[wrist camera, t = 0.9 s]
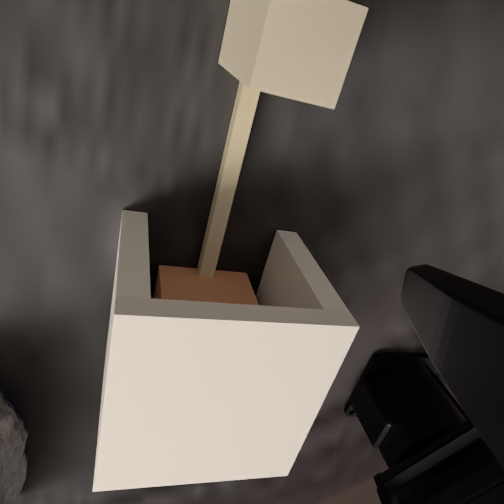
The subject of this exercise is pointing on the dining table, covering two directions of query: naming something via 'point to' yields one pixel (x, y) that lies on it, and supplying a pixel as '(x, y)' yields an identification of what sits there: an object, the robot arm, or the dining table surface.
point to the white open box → (215, 371)
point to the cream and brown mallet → (251, 83)
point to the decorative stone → (11, 452)
